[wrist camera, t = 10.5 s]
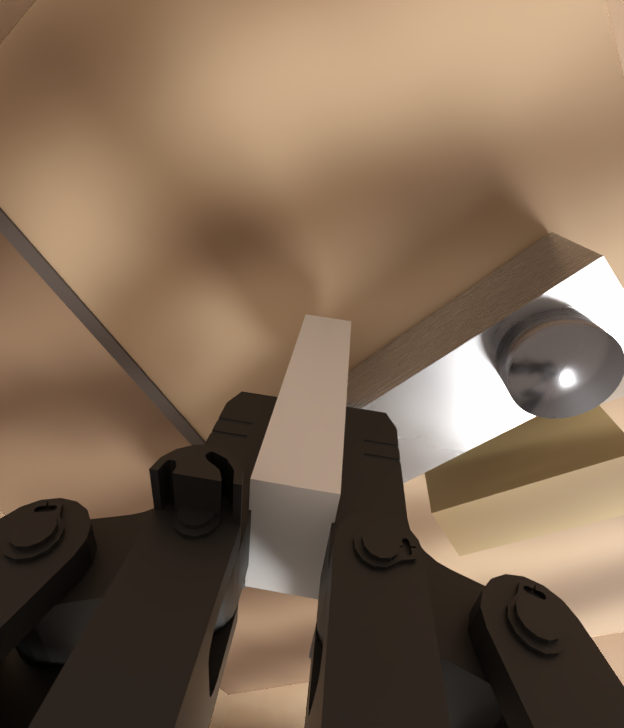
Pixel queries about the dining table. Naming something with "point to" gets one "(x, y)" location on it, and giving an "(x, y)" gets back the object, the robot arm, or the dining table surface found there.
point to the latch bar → (500, 355)
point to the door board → (300, 251)
